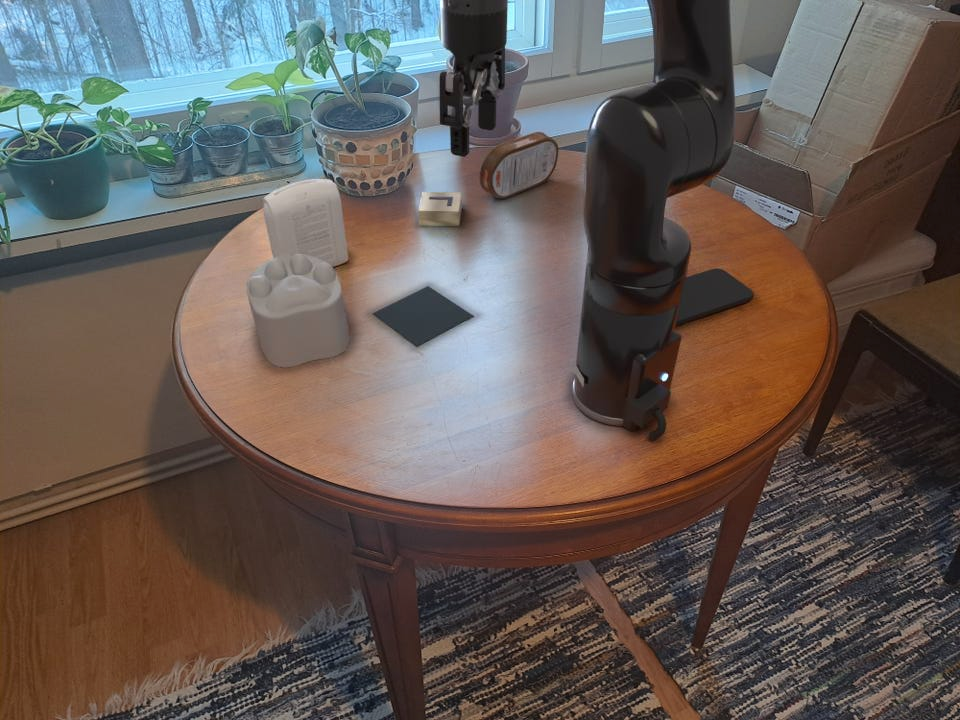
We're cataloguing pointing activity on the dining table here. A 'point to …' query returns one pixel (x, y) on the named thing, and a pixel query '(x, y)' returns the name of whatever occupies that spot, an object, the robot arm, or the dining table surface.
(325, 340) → the lumpy-topped squat cylinder
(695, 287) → the phone
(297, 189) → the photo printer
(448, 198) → the tile
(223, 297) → the dining table surface
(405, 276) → the dining table surface
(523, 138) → the tin
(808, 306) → the dining table surface
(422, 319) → the mat
